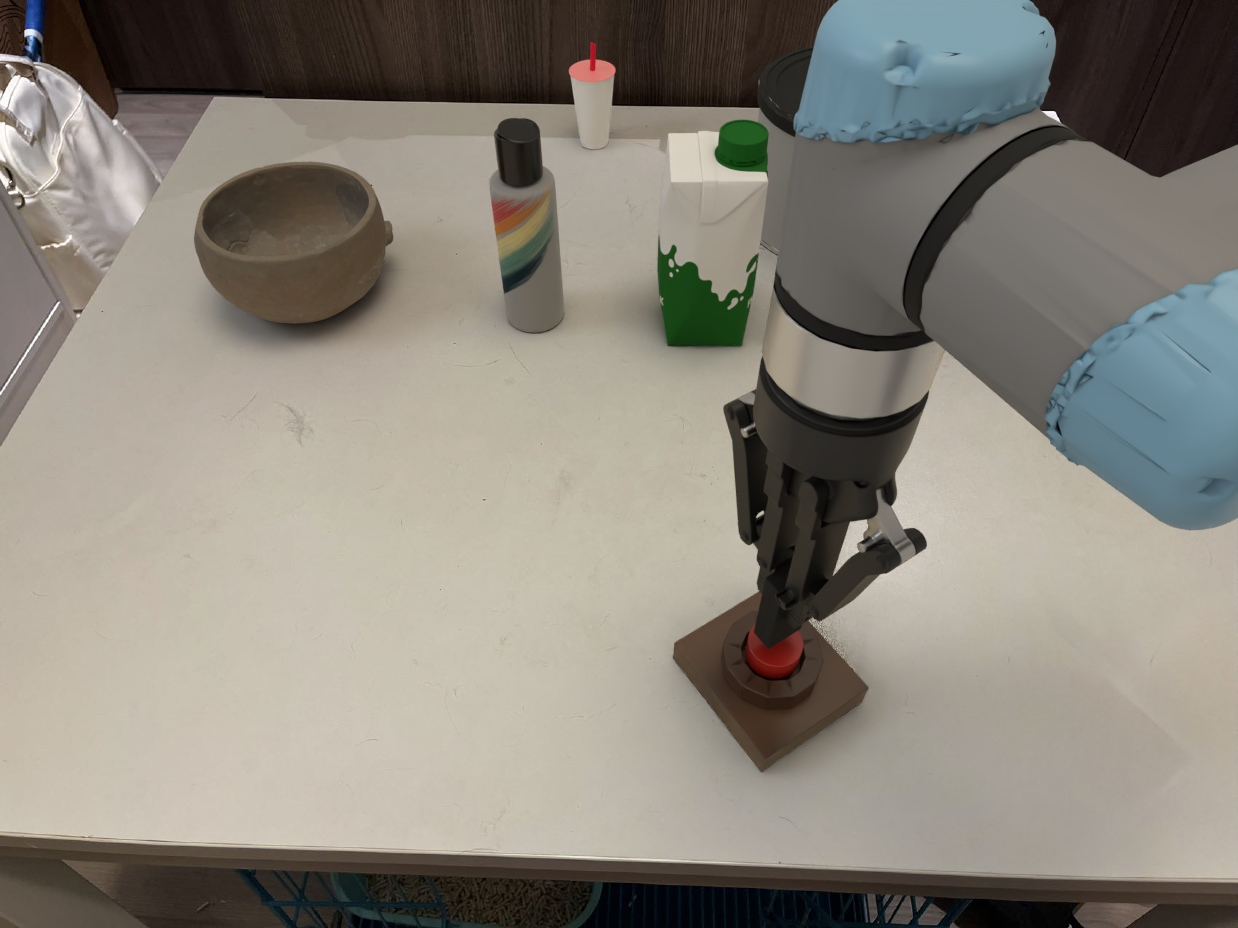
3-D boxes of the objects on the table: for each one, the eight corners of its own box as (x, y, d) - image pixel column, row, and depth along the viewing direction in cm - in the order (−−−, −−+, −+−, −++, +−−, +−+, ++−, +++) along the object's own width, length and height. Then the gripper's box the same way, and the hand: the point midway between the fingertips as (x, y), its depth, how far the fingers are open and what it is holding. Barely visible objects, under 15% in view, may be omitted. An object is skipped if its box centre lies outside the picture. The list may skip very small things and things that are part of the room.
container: (869, 295, 90) (905, 159, 78) (711, 230, 97) (722, 97, 85) (945, 207, 99) (986, 75, 88) (796, 154, 107) (816, 26, 95)
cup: (616, 130, 110) (615, 32, 101) (616, 153, 107) (615, 54, 98) (572, 130, 110) (567, 32, 101) (572, 154, 107) (566, 54, 98)
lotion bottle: (526, 290, 91) (505, 102, 75) (575, 306, 89) (563, 117, 74) (496, 323, 87) (467, 133, 72) (545, 341, 86) (527, 150, 70)
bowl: (412, 239, 96) (394, 154, 89) (379, 351, 85) (354, 265, 77) (255, 237, 97) (222, 153, 89) (200, 348, 85) (158, 263, 78)
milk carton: (752, 352, 84) (779, 161, 69) (656, 352, 84) (662, 161, 69) (744, 293, 90) (768, 104, 75) (654, 293, 90) (660, 105, 75)
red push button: (810, 661, 60) (814, 648, 58) (768, 689, 58) (771, 676, 57) (775, 622, 61) (779, 608, 60) (734, 647, 60) (737, 635, 59)
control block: (862, 701, 61) (875, 674, 58) (761, 772, 58) (768, 748, 55) (770, 597, 67) (776, 568, 64) (672, 657, 64) (674, 629, 61)
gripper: (1019, 420, 37) (891, 678, 55) (812, 260, 44) (758, 535, 62) (888, 499, 35) (799, 742, 53) (690, 315, 42) (671, 586, 60)
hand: (777, 630), depth 58 cm, fingers closed
